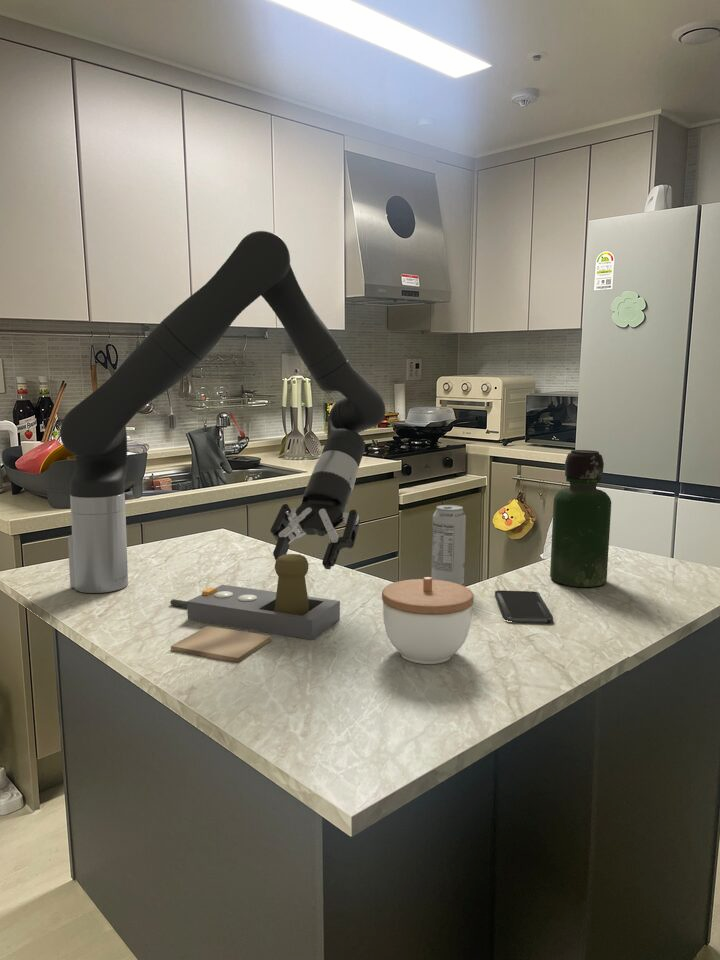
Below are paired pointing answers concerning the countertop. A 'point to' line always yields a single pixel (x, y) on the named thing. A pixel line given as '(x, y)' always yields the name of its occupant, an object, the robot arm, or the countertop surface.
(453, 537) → the energy drink can
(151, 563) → the countertop surface
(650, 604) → the countertop surface
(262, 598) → the charging strip
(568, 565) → the green bottle
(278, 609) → the pepper shaker
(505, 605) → the phone
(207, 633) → the cork pad
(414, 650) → the lidded bowl
